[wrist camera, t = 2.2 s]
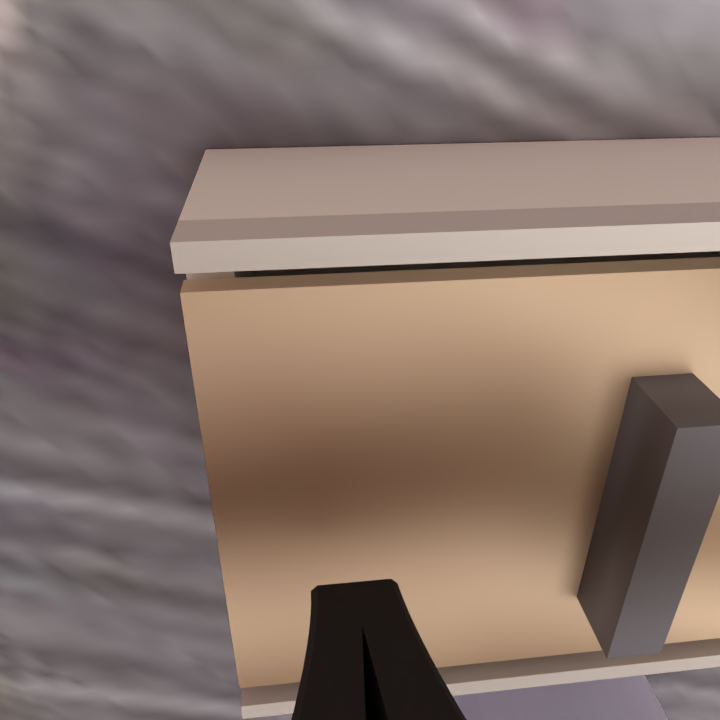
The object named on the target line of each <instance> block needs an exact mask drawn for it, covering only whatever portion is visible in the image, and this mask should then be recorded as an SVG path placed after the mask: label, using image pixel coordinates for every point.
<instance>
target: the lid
mask: <svg viewBox="0 0 720 720" xmlns="http://www.w3.org/2000/svg"><path fill="white" fill-rule="evenodd" d="M180 297H181V303H182V310H183V317H184V323H185V330H186V336H187V343H188V350H189V356H190V363H191V370H192V376H193V383H194V390H195V396H196V403H197V409H198V416H199V423H200V429H201V436H202V443H203V449H204V456H205V463H206V469H207V476H208V482H209V489H210V496H211V502H212V509H213V516H214V522H215V529H216V536H217V542H218V549H219V555H220V562H221V569H222V575H223V582H224V589H225V595H226V602H227V609H228V615H229V622H230V628H231V635H232V642H233V648H234V655H235V662H236V668H237V675H238V682H239V688H248V687H257V686H267V685H276V684H286V683H295V682H300V680H301V676H302V671H303V666H304V660H305V654H306V648H307V642H308V635H309V626H310V614H311V590H313V589H314V588H315V587H316V586H317V585H327V584H338V583H349V582H360V581H371V580H382V579H392V580H394V581H395V582H397V583H398V586H399V589H400V592H401V594H402V597H403V599H404V602H405V604H406V606H407V609H408V611H409V613H410V616H411V618H412V620H413V622H414V624H415V626H416V629H417V631H418V633H419V635H420V637H421V639H422V641H423V643H424V645H425V647H426V649H427V651H428V653H429V655H430V656H431V658H432V660H433V662H434V664H435V666H436V668H439V667H448V666H458V665H467V664H477V663H486V662H496V661H505V660H515V659H525V658H534V657H544V656H553V655H563V654H572V653H582V652H591V651H601V650H603V652H604V654H605V656H606V658H607V659H611V658H621V657H630V656H640V655H649V654H658V653H661V652H662V649H663V646H664V644H668V643H677V642H687V641H696V640H706V639H716V638H720V257H706V258H683V259H659V260H636V261H613V262H590V263H567V264H543V265H520V266H497V267H474V268H451V269H427V270H404V271H381V272H358V273H335V274H311V275H288V276H265V277H242V278H219V279H195V280H184V281H183V284H182V287H181V291H180Z"/></svg>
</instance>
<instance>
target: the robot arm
mask: <svg viewBox="0 0 720 720" xmlns="http://www.w3.org/2000/svg"><path fill="white" fill-rule="evenodd" d="M292 720H668V718H667V716H666V714H665V712H664V711H663V709H662V707H661V705H660V703H659V701H658V699H657V697H656V695H655V694H654V692H653V690H652V688H651V686H650V684H649V682H648V680H647V679H646V677H645V675H639V676H630V677H621V678H612V679H603V680H594V681H585V682H575V683H566V684H557V685H548V686H539V687H530V688H521V689H511V690H502V691H493V692H484V693H475V694H466V695H457V696H452V694H451V692H450V691H449V689H448V687H447V685H446V684H445V682H444V680H443V678H442V677H441V675H440V673H439V671H438V669H437V668H436V666H435V664H434V662H433V660H432V658H431V656H430V655H429V653H428V651H427V649H426V647H425V645H424V643H423V641H422V639H421V637H420V635H419V633H418V631H417V629H416V626H415V624H414V622H413V620H412V618H411V616H410V613H409V611H408V609H407V606H406V604H405V602H404V599H403V597H402V594H401V592H400V589H399V586H398V583H397V582H395V581H394V580H392V579H382V580H371V581H360V582H349V583H338V584H327V585H317V586H316V587H315V588H314V589H313V590H311V614H310V626H309V635H308V642H307V648H306V654H305V660H304V666H303V671H302V676H301V680H300V685H299V689H298V694H297V698H296V703H295V707H294V712H293V716H292Z"/></svg>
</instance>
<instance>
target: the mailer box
mask: <svg viewBox="0 0 720 720" xmlns="http://www.w3.org/2000/svg"><path fill="white" fill-rule="evenodd" d="M170 247H171V253H172V260H173V267H174V273H175V274H186V278H187V280H195V279H219V278H242V277H265V276H288V275H311V274H335V273H358V272H381V271H404V270H427V269H451V268H474V267H497V266H520V265H543V264H567V263H590V262H613V261H636V260H659V259H683V258H706V257H720V137H711V138H668V139H626V140H584V141H542V142H500V143H458V144H416V145H374V146H332V147H289V148H247V149H206V150H205V153H204V155H203V158H202V161H201V163H200V166H199V168H198V171H197V173H196V176H195V179H194V181H193V184H192V186H191V189H190V192H189V194H188V197H187V199H186V202H185V204H184V207H183V210H182V212H181V215H180V217H179V220H178V223H177V225H176V228H175V230H174V233H173V235H172V238H171V241H170ZM713 667H720V638H716V639H706V640H696V641H687V642H677V643H668V644H664V646H663V649H662V652H661V653H658V654H649V655H640V656H630V657H621V658H611V659H607V658H606V656H605V654H604V652H603V650H601V651H591V652H582V653H572V654H563V655H553V656H544V657H534V658H525V659H515V660H505V661H496V662H486V663H477V664H467V665H458V666H448V667H439V668H437V669H438V671H439V673H440V675H441V677H442V678H443V680H444V682H445V684H446V685H447V687H448V689H449V691H450V692H451V694H452V696H457V695H466V694H475V693H484V692H493V691H502V690H511V689H521V688H530V687H539V686H548V685H557V684H566V683H575V682H585V681H594V680H603V679H612V678H621V677H630V676H639V675H649V674H658V673H667V672H676V671H685V670H694V669H703V668H713ZM299 685H300V682H295V683H286V684H276V685H267V686H257V687H248V688H242V689H241V712H242V718H243V719H246V718H256V717H265V716H274V715H283V714H292V713H293V712H294V707H295V703H296V698H297V694H298V689H299Z"/></svg>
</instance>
